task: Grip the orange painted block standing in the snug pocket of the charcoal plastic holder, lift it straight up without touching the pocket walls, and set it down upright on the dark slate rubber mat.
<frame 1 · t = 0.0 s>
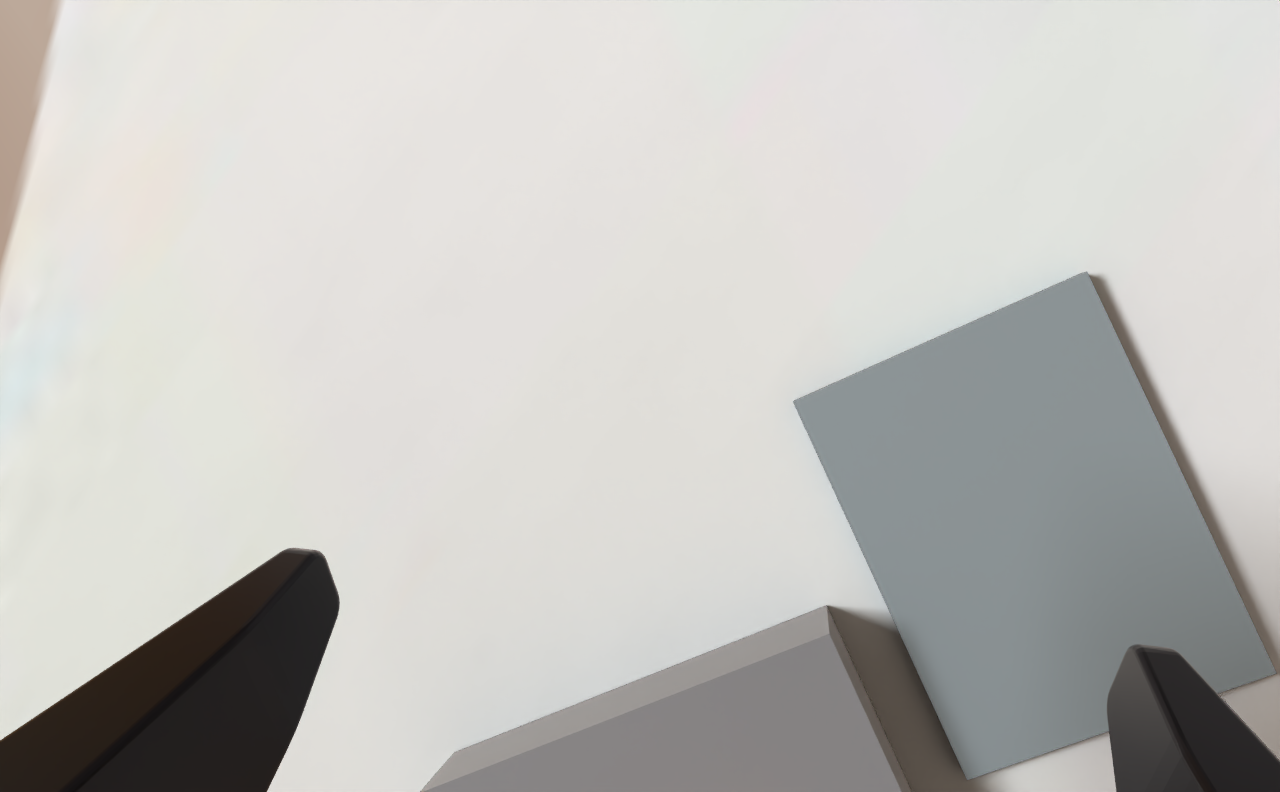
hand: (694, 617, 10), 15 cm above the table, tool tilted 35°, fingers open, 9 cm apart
mat: (1020, 528, 24), on the table
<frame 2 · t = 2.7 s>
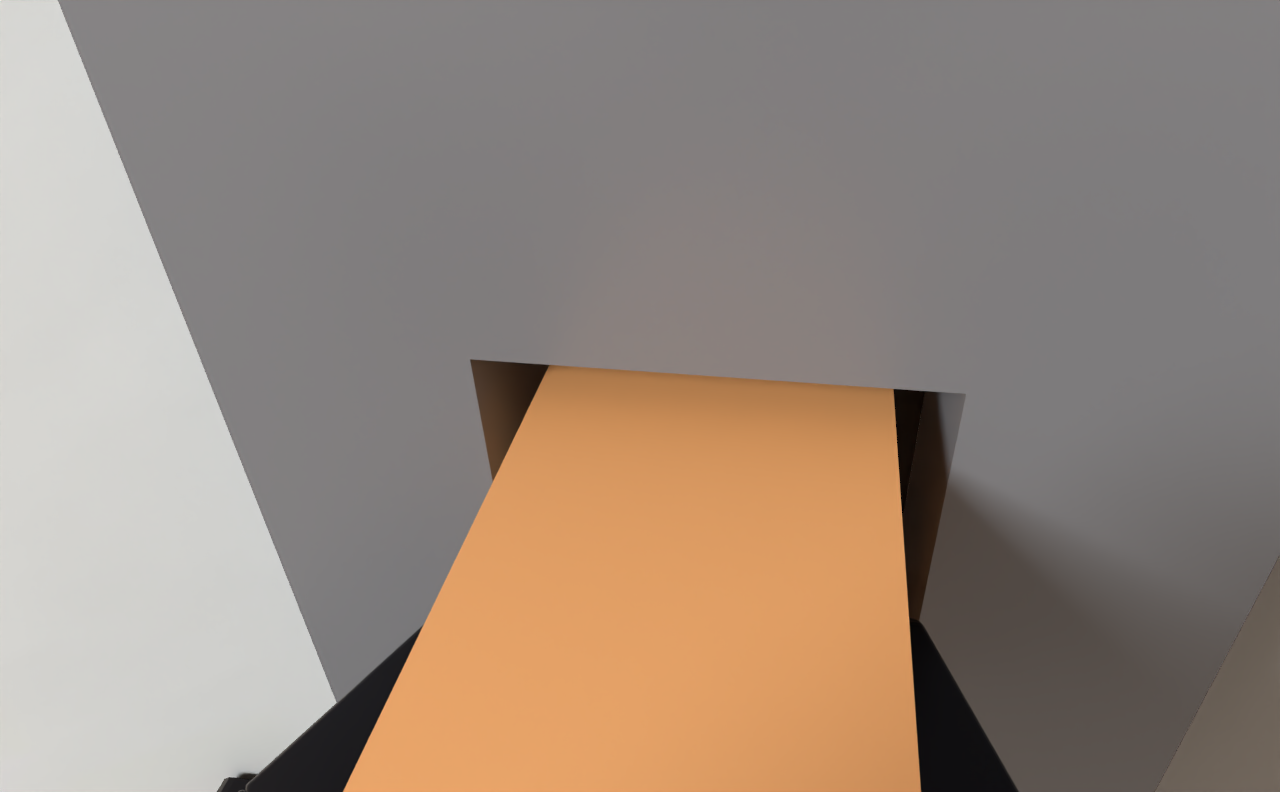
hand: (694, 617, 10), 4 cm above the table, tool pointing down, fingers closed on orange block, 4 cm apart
holder: (728, 427, 13), on the table
orange block: (728, 426, 13), resting in holder, touching gripper
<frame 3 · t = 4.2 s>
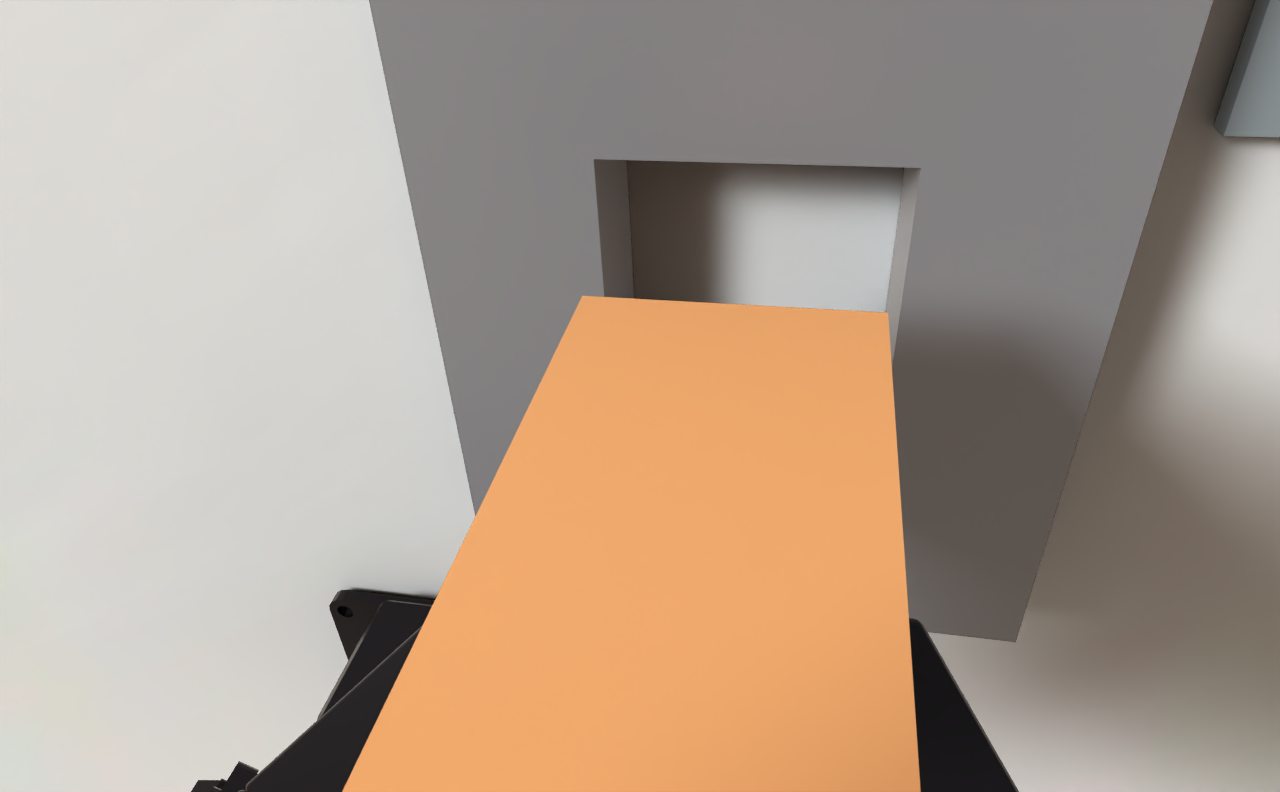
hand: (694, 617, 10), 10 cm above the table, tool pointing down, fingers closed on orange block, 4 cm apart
holder: (759, 242, 18), on the table
orange block: (728, 425, 13), point 6 cm above the table, touching gripper
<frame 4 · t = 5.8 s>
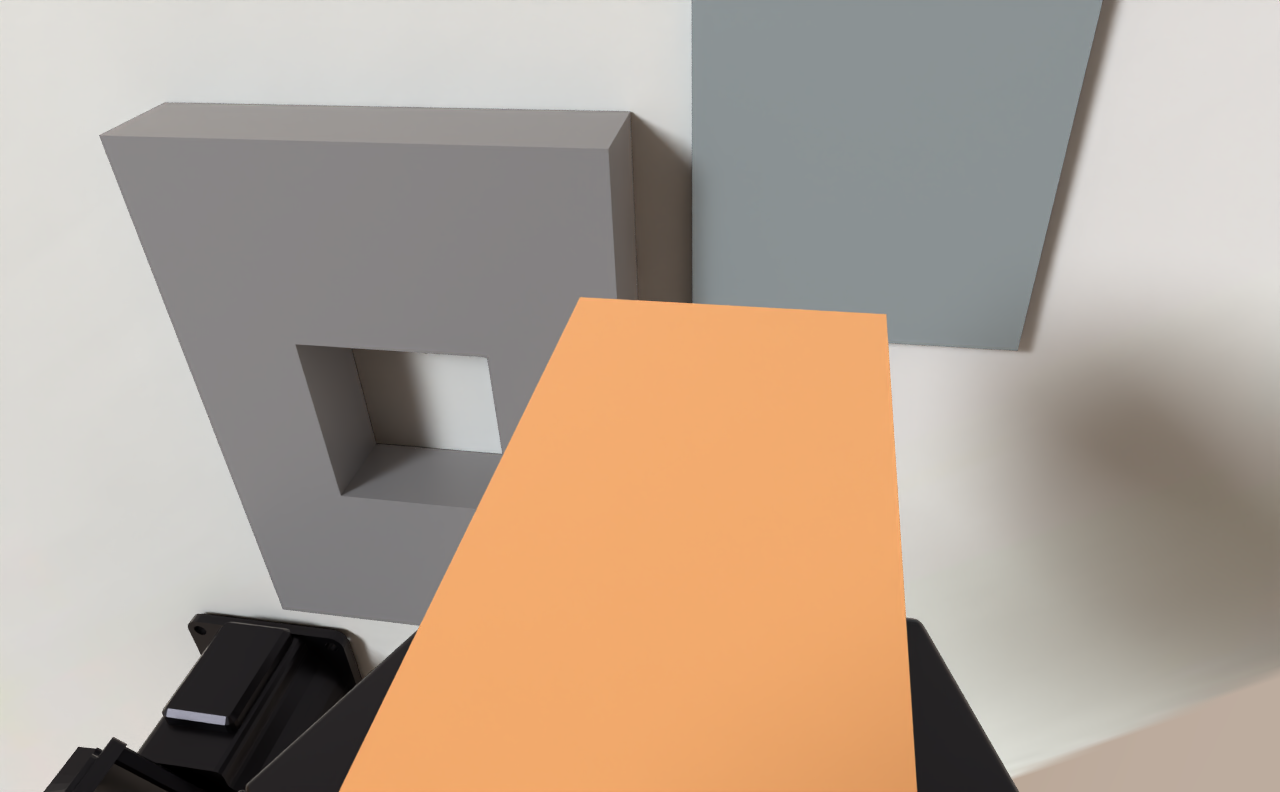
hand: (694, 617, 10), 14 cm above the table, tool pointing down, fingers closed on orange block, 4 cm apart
mat: (874, 116, 20), on the table
holder: (440, 380, 26), on the table
orange block: (726, 426, 13), point 10 cm above the table, touching gripper
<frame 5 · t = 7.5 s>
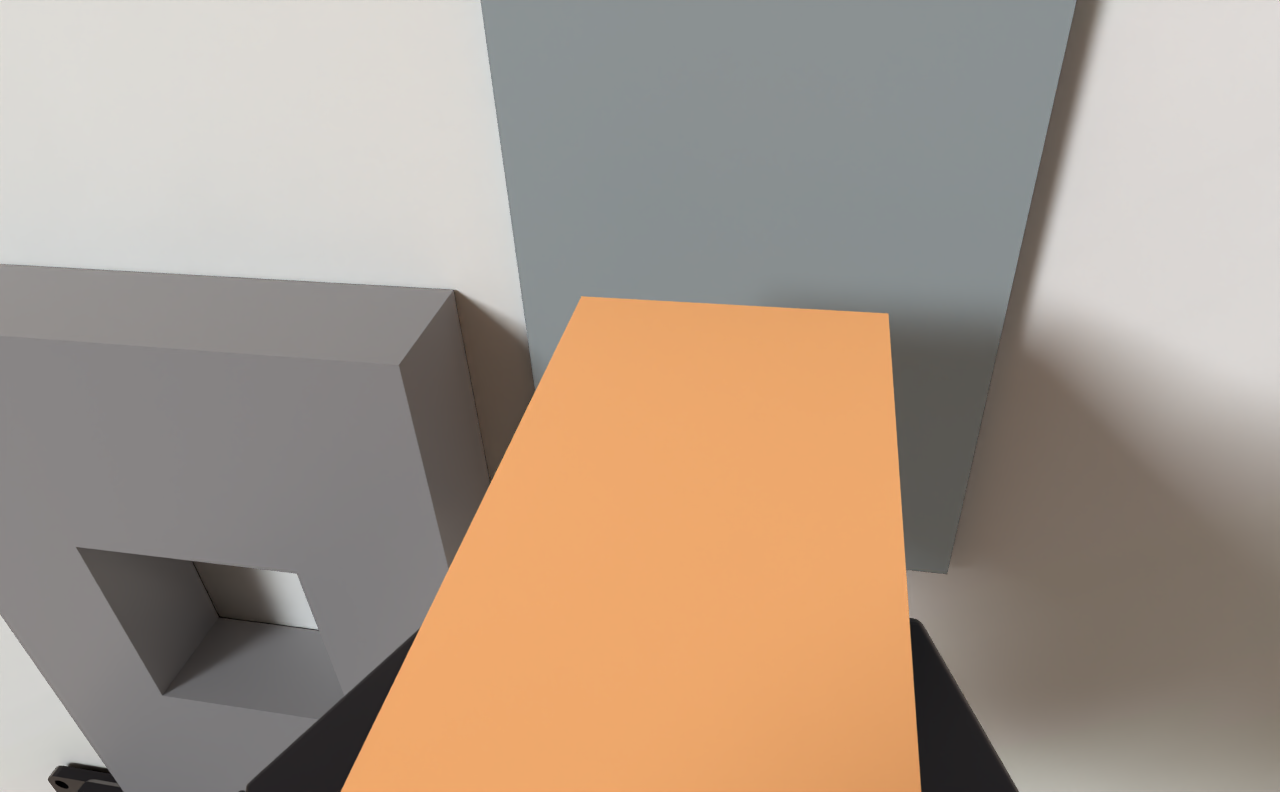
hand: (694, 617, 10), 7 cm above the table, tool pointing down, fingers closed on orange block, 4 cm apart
mat: (753, 306, 15), on the table
holder: (279, 560, 22), on the table
orange block: (728, 426, 13), point 3 cm above the table, touching gripper
when the fingers open (4 cm above the table, at t = 8.8 s): orange block stays where it is, resting on mat.
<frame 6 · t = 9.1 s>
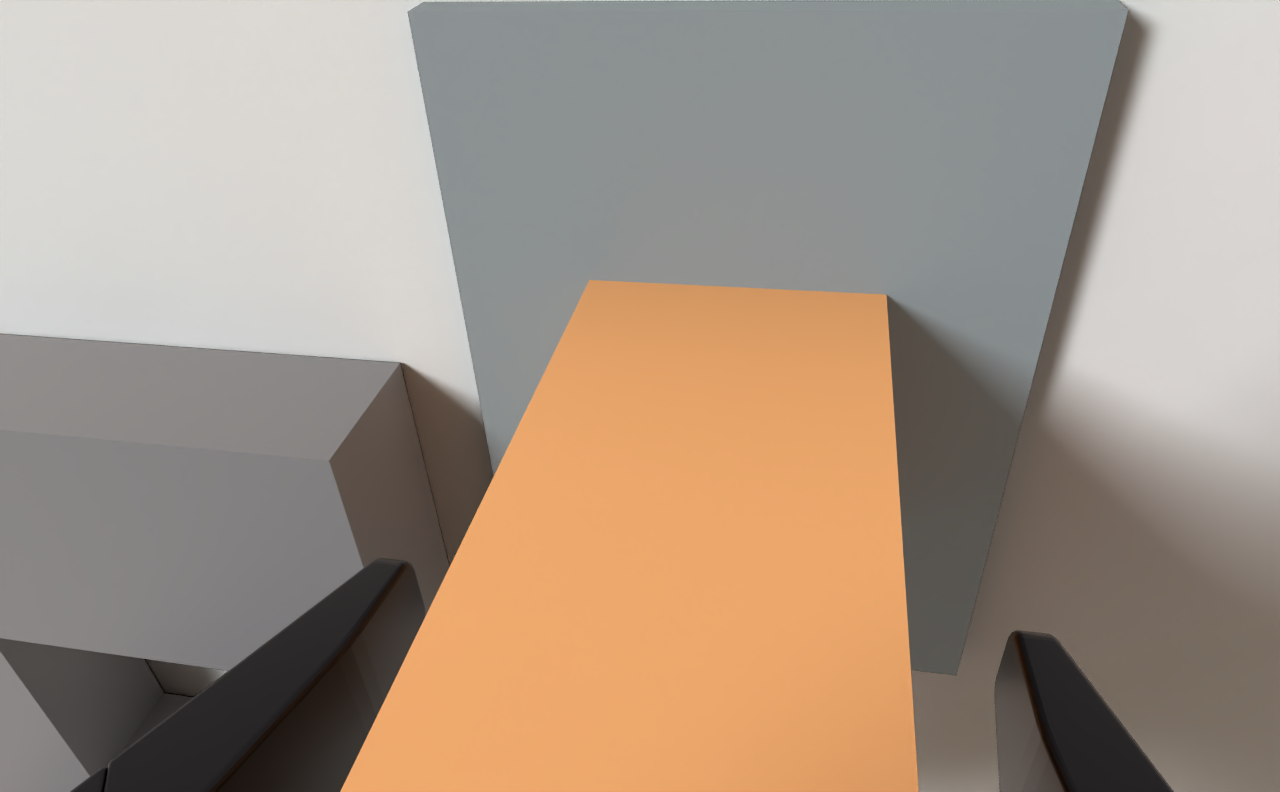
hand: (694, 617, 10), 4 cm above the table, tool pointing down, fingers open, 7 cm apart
mat: (737, 387, 14), on the table
holder: (224, 637, 20), on the table
orange block: (731, 406, 13), resting on mat
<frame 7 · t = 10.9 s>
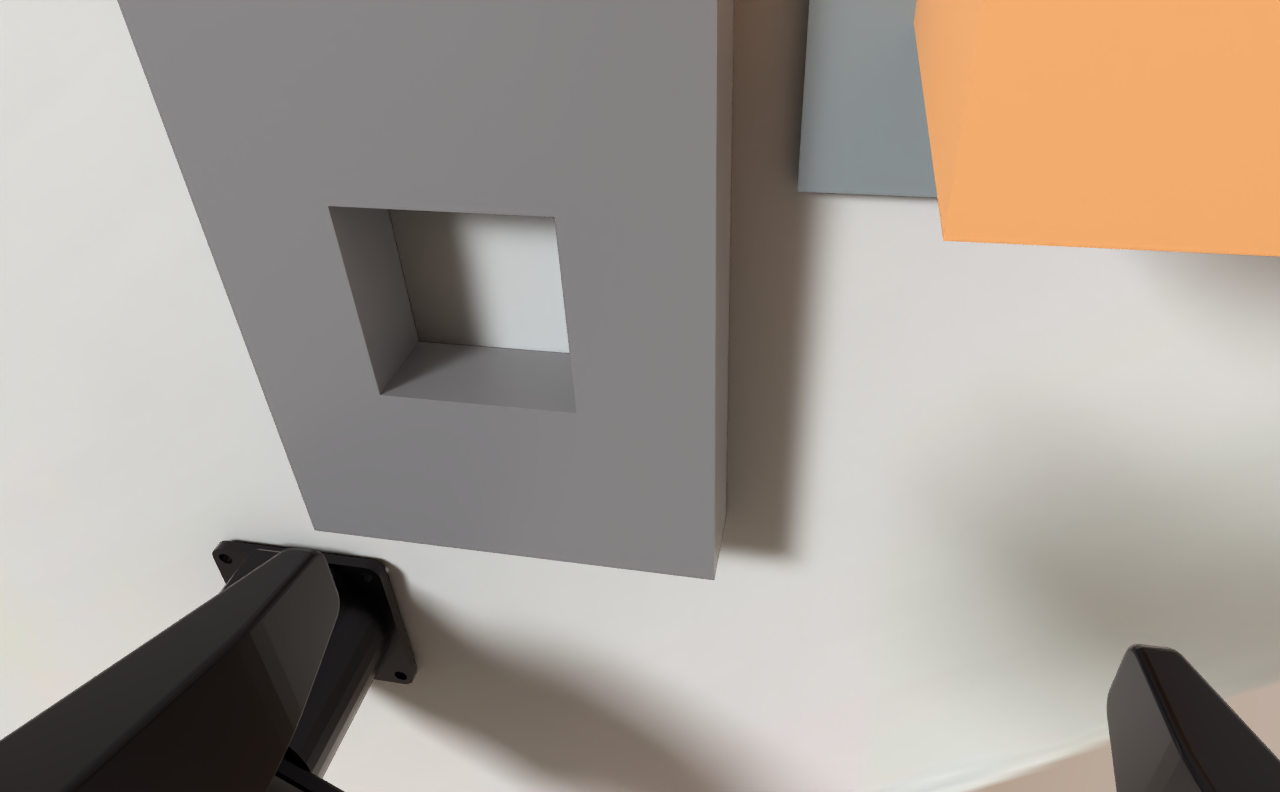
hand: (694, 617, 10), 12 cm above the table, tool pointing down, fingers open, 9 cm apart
holder: (494, 263, 23), on the table
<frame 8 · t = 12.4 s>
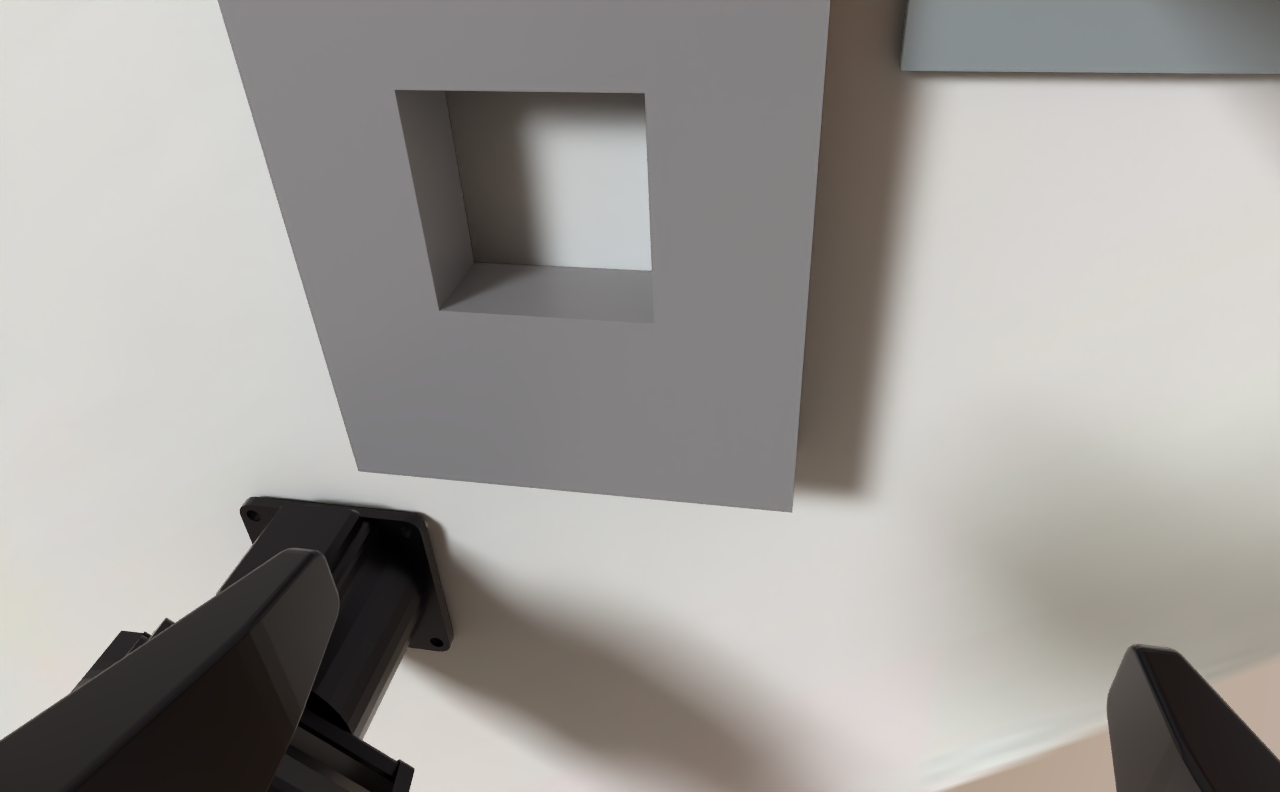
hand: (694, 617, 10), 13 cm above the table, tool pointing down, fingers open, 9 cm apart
holder: (561, 169, 21), on the table
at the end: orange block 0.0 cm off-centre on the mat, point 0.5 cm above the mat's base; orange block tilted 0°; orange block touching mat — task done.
